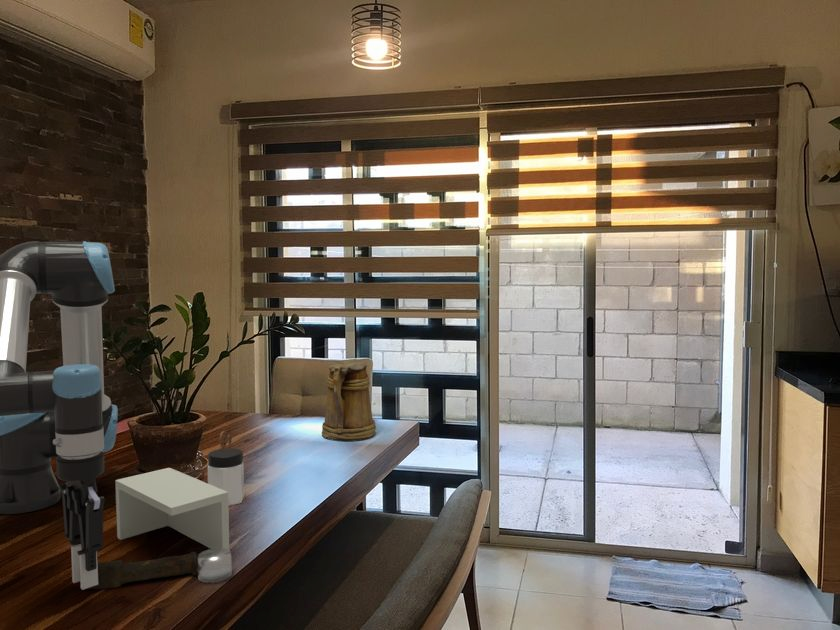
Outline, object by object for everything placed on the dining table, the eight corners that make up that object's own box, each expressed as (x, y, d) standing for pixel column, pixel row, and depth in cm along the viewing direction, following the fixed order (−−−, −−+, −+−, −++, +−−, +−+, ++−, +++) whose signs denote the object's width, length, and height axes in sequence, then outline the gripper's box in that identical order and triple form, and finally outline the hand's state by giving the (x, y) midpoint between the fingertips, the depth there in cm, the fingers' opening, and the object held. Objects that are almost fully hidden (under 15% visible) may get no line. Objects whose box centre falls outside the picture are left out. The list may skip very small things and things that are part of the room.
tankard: (380, 428, 240) (380, 358, 238) (365, 446, 216) (365, 368, 214) (330, 427, 242) (329, 357, 240) (310, 444, 219) (309, 367, 217)
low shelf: (117, 537, 145) (115, 480, 144) (170, 522, 154) (169, 467, 153) (173, 572, 129) (171, 508, 128) (229, 552, 138) (228, 492, 137)
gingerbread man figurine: (222, 479, 184) (221, 435, 183) (209, 478, 185) (208, 435, 184) (238, 470, 192) (237, 427, 192) (225, 469, 193) (224, 427, 192)
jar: (252, 498, 170) (251, 450, 169) (230, 508, 162) (229, 459, 161) (223, 493, 173) (222, 446, 172) (200, 503, 166) (199, 454, 165)
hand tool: (197, 568, 131) (196, 544, 131) (197, 577, 128) (197, 553, 127) (88, 584, 125) (87, 559, 125) (85, 594, 121) (84, 568, 121)
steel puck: (191, 577, 127) (190, 556, 127) (218, 565, 132) (217, 545, 132) (211, 586, 124) (210, 565, 123) (238, 574, 129) (237, 553, 128)
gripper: (40, 449, 123) (45, 576, 125) (76, 467, 112) (81, 606, 114) (83, 441, 128) (88, 562, 130) (121, 458, 117) (126, 590, 119)
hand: (85, 582), depth 122 cm, fingers open, 3 cm apart
